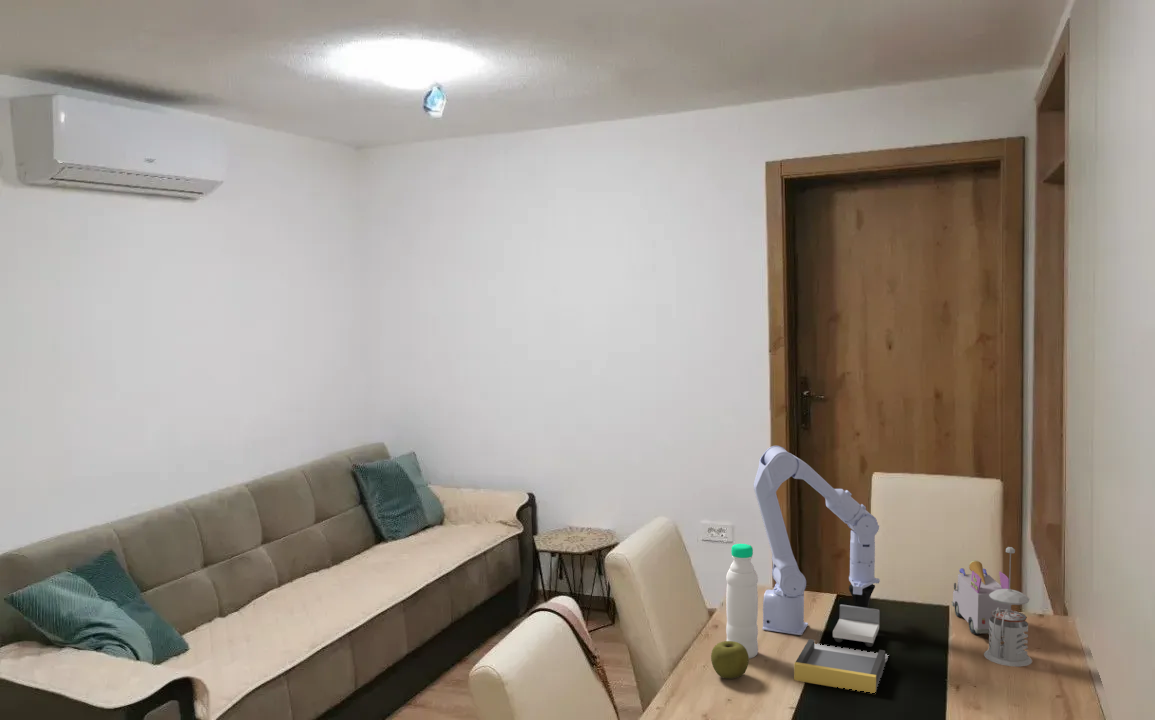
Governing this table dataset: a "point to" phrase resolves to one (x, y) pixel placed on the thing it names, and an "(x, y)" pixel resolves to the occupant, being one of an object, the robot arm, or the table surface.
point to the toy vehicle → (977, 597)
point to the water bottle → (742, 599)
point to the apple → (729, 659)
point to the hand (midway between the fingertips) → (861, 614)
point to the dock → (840, 667)
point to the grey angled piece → (857, 624)
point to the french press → (1008, 628)
